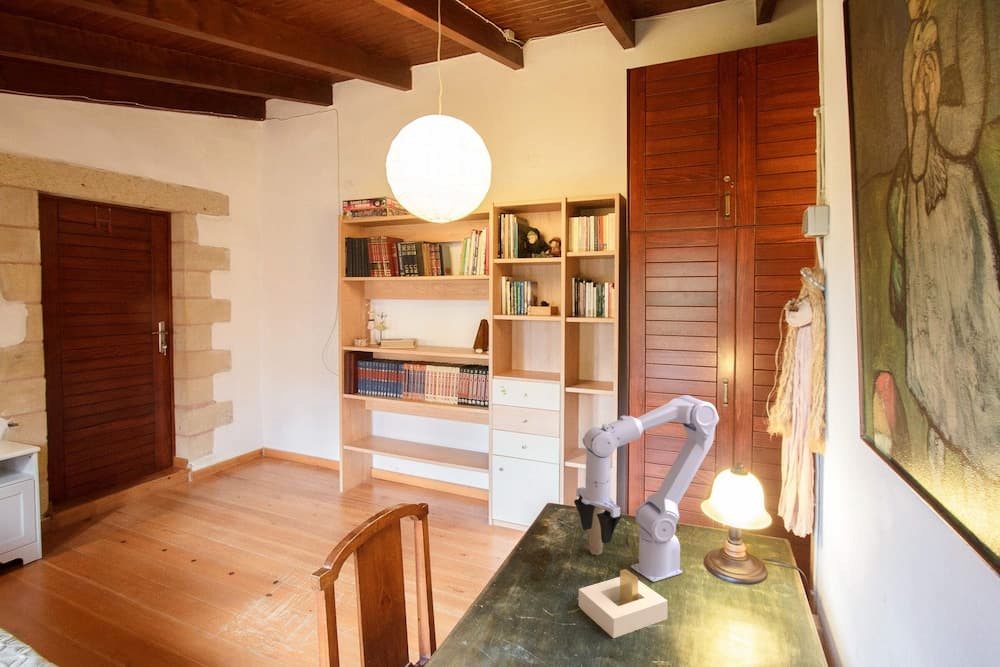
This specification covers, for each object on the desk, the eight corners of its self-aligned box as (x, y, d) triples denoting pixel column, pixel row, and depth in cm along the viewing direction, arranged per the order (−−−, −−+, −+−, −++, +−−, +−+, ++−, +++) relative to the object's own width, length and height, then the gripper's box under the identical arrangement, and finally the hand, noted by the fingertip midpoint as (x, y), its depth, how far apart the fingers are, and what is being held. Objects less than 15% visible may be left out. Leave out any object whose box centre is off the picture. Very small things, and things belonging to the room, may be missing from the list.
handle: (611, 556, 138) (611, 500, 137) (586, 558, 137) (587, 501, 136) (605, 547, 143) (605, 493, 142) (581, 549, 142) (582, 494, 141)
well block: (629, 590, 122) (629, 573, 122) (667, 619, 112) (667, 600, 111) (578, 606, 116) (578, 588, 116) (613, 638, 105) (613, 618, 105)
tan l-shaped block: (625, 605, 117) (625, 569, 116) (637, 615, 113) (638, 577, 112) (606, 611, 114) (607, 574, 114) (618, 621, 111) (619, 583, 110)
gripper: (566, 472, 131) (565, 526, 132) (603, 492, 118) (601, 551, 119) (590, 468, 134) (588, 521, 135) (628, 487, 121) (626, 545, 122)
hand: (596, 535), depth 127 cm, fingers open, 7 cm apart
